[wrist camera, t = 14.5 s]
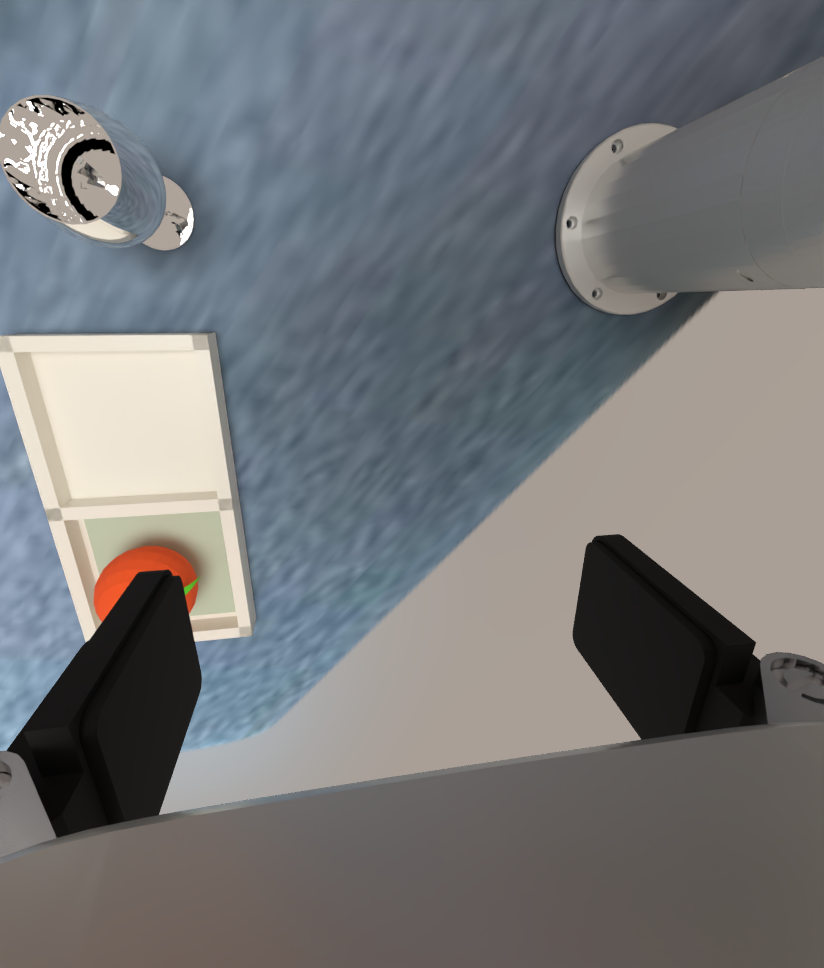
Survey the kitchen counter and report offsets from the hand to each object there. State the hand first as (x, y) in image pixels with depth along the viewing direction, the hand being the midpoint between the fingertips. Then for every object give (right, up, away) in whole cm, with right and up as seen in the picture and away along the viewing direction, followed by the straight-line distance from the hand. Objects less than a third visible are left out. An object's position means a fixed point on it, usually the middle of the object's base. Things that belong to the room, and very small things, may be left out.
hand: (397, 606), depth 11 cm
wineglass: (-16, +21, +20) cm, 33 cm away
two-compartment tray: (-20, +2, +27) cm, 33 cm away
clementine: (-20, -4, +28) cm, 35 cm away
